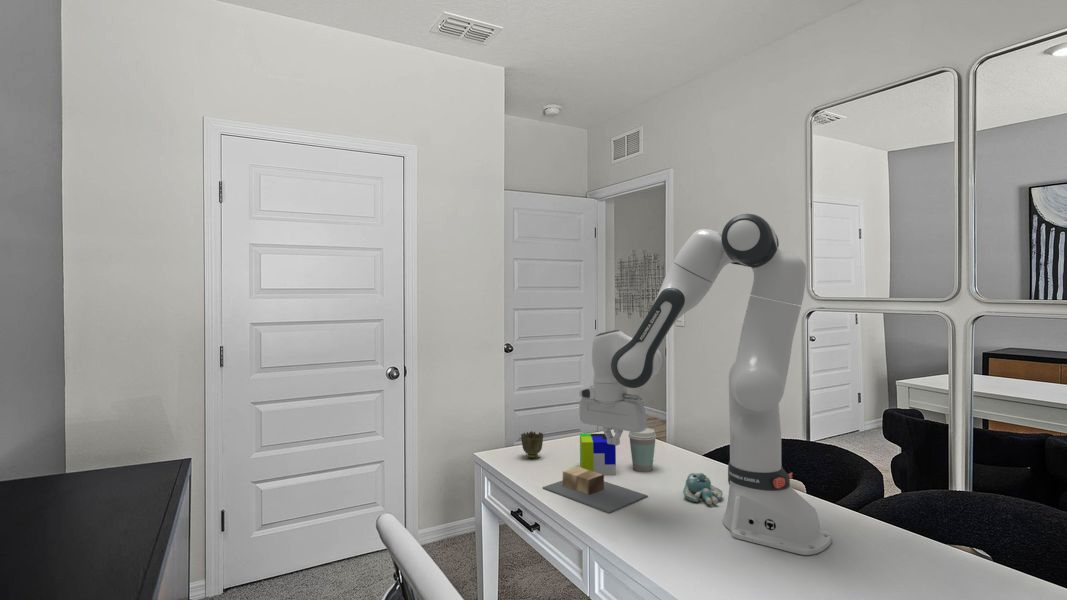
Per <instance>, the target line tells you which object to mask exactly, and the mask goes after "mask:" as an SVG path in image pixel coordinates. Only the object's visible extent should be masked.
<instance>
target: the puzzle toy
mask: <svg viewBox="0 0 1067 600" xmlns="http://www.w3.org/2000/svg"><path fill="white" fill-rule="evenodd" d="M616 447H617V446H616V445H611V444H607V437H606V436H605V434H604V433H580V434H579V464H580V466H579V467H580V468H583V469H587V470H590V471H593V472H596V473H599V474H603V475H604V476H617V465H616V464H617V463H616V462H617V461H616V459H617V456H616V455H617V454H616V453H617V452H616V451H617V450H616Z"/></svg>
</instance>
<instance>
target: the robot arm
mask: <svg viewBox="0 0 1067 600" xmlns="http://www.w3.org/2000/svg"><path fill="white" fill-rule="evenodd" d="M779 245H780V244H779V239H778V235H777V234H776V232H775V230H774V228H773V226H772V225H771V224H770V223H769V222H768V221H767V220H765V219H764V218H763V217H761V216H760V215H757V214H754V213H753V214H752V213H742V214H739V215H736V216H734V217H732V218H731V219H729V220H728V221H727V223H726V224H725V225H724V226H723V229H722V231H721V232H718V231H716V230H713V229H709V228H701V229H697V230H695V231H694V232H693V233H692V234H691V235H690V237H688V239H687V240H686V241H685V243H684V244H683V245H682V247H681V248H680V250H679V251H678V253H677V254H676V255H675V257H674V259H673V261H672V263H671V264H670V266H669V268H668V270H667V272H666V275H665V277H664V279H663V281H662V283H661V286H660V288H659V291H658V294H657V296H656V297H655V300H654V302H653V305H652V306H651V308H650V309H649V311H648V313H647V315H646V316H645V318H644V319H643V321H642V323H641V325H639V328H638V329H637V331H636V333H635V334H634V335H633V337H631V336H629V335H627V334H625V333H624V332H623V331H622V330H620V329H614V330H609V331H606V332H605V331H604V332H601V333H598V334H596V335H595V336H594V337H593V340H592V349H591V350H592V351H591V359H592V361H591V363H592V368H593V371H594V375H593V379H592V380H593V385H590V386H589V387H585V388H582V389H580V390H579V397H580V401H579V419H580V421H581V423H582V424H585V425H586V424H587V425H590V426H591V425H592V426H597V427H602V432H603V434H605V436H606V437H607V444H611V445H616V447H617V446H619V445H621V442H620V441H621V440H620V438H621V436H622V434H623V433H624V431H627V432H630V431H631V432H637V433H638V432H642V431H644V430H645V429H646V428H648V422H647V421H648V420H647V414H646V409H645V401H644V399H643V398H641V397H640V396H639V395H638V394H630V393H628V388H629V389H637V388H641V387H642V386H644V385H645V384H647V383H648V382H649V380H651V379H653V377H655V376H656V375H657V374H659V372H660V371H661V369H662V367H663V364H664V356H663V353H662V352H661V349H659V348H660V346H661V344H662V343H663V341H664V340H665V338H666V337H667V335H668V333H669V331H670V330H671V328H672V327H673V325H675V323H676V322H677V321H678V319H679V318H681V317H682V316H683V315H685V314H686V313H687V312H689V311H690V310H692V309H694V308H695V307H696V306H698V304H699V303H700V302H702V300H703V299H704V298H705V297H706V295H707V294H708V292H709V291H710V289H711V288H712V286H713V284H714V283H715V282H716V279H717V278H718V276H719V274H720V273H721V271H722V270H723V269H724V268H725V266H728V264H732V265H736V266H744V267H749V268H751V269H752V272H753V280H752V286H751V289H750V290H751V291H750V294H749V299H748V303H747V306H746V311H745V315H744V318H743V323H742V326H741V330H740V331H741V333H740V338H739V342H738V347H737V352H736V357H735V361H734V363H733V364H732V365H731V367H730V370H729V373H728V396H729V397H728V399H729V400H728V401H729V402H728V403H729V404H728V405H729V406H728V407H729V409H728V410H729V411H728V412H729V461H728V465H727V467H728V469H727V481H728V482H727V483H728V485H729V488H728V497H727V505H726V508H725V513H724V515H723V520H722V524H723V525H724V526H725V528H726V529H728V530H729V531H730V534H731V536H732V537H733V538H735V539H738V540H742V541H747V542H749V543H750V542H751V543H753V544H758V545H762V546H765V547H769V548H772V549H778V550H781V551H784V552H788V553H792V554H798V555H801V556H812V555H816V554H819V553H821V552H823V551H825V550H826V549H827V548H828V547H829V546H830V545H831V543H832V535H831V533H830V532H829V530H826V529H823V528H821V526H820V520H819V516H818V512H817V510H816V508H815V507H814V506H813V505H812V504H810V503H809V501H807V500H806V499H805V498H804V497H802V496H801V494H799V493H798V492H797V491H796V489H794V488H793V487H792V486H791V483H790V482H791V479H793V474H794V473H793V472H790V473H788V472H786V471H785V469H784V468H783V466H782V429H781V418H780V406H779V405H780V404H779V403H780V402H781V400H782V399H783V396H784V392H785V388H786V383H787V379H788V378H787V377H788V373H789V366H790V361H791V354H792V348H793V341H794V336H795V333H796V328H797V325H798V321H799V317H800V312H801V311H802V310H801V309H802V305H803V300H804V296H805V289H806V280H807V266H806V263H805V262H804V260H803V259H802V258H801V257H800V256H797V255H796V254H793V253H790V252H785V251H782V250H781V249H779ZM612 431H613V433H614V436H613V433H612Z"/></svg>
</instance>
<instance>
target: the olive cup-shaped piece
mask: <svg viewBox="0 0 1067 600" xmlns="http://www.w3.org/2000/svg"><path fill="white" fill-rule="evenodd" d="M520 437H521V444H522V445H521V446H522V450H523V452H525V454H527V455H526V457H527V459H529V460H535V459H537V458H538V457H539V454H540V452H541V451H542V449H543V444H544V443H543V442H544V441H543V440H544V434H543V432H540V431H539V432H538V433H536V431H532V430H531V431H530V432H529V431H526V432H523V433H520Z"/></svg>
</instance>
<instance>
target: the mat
mask: <svg viewBox="0 0 1067 600" xmlns="http://www.w3.org/2000/svg"><path fill="white" fill-rule="evenodd" d="M542 489H543V490H546V491H548V492H552V493H553V494H556V495H559V496H562V497H564V498H567V499H569V500H572V501H575V502H577V503H580V504H582V505H586V506H588V507H591V508H593V509H596V510H598V511H601V512H604V513H606V514H608V515H609V514H612V513H615V512H617V511H618V510H621V509H623V508H626V507H628V506H630V505H633V504H635V503H637V502H639V501H642V500H644V499H646V498H649V495H648V494H645V493H643V492H638V491H635V490H633V489H629V488H626V487H623V486H621V485H617V484H614V483H611V482H608V481H605V480H604V490H601V491H598V492H596V493H593V494H590V495H588V494H585V493H583V492H580V491H577V490H574V489H571V488H569V487H566V486H563V479H562V480H560V481H556V482H554V483H551V484H547V485H545V486H542Z"/></svg>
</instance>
